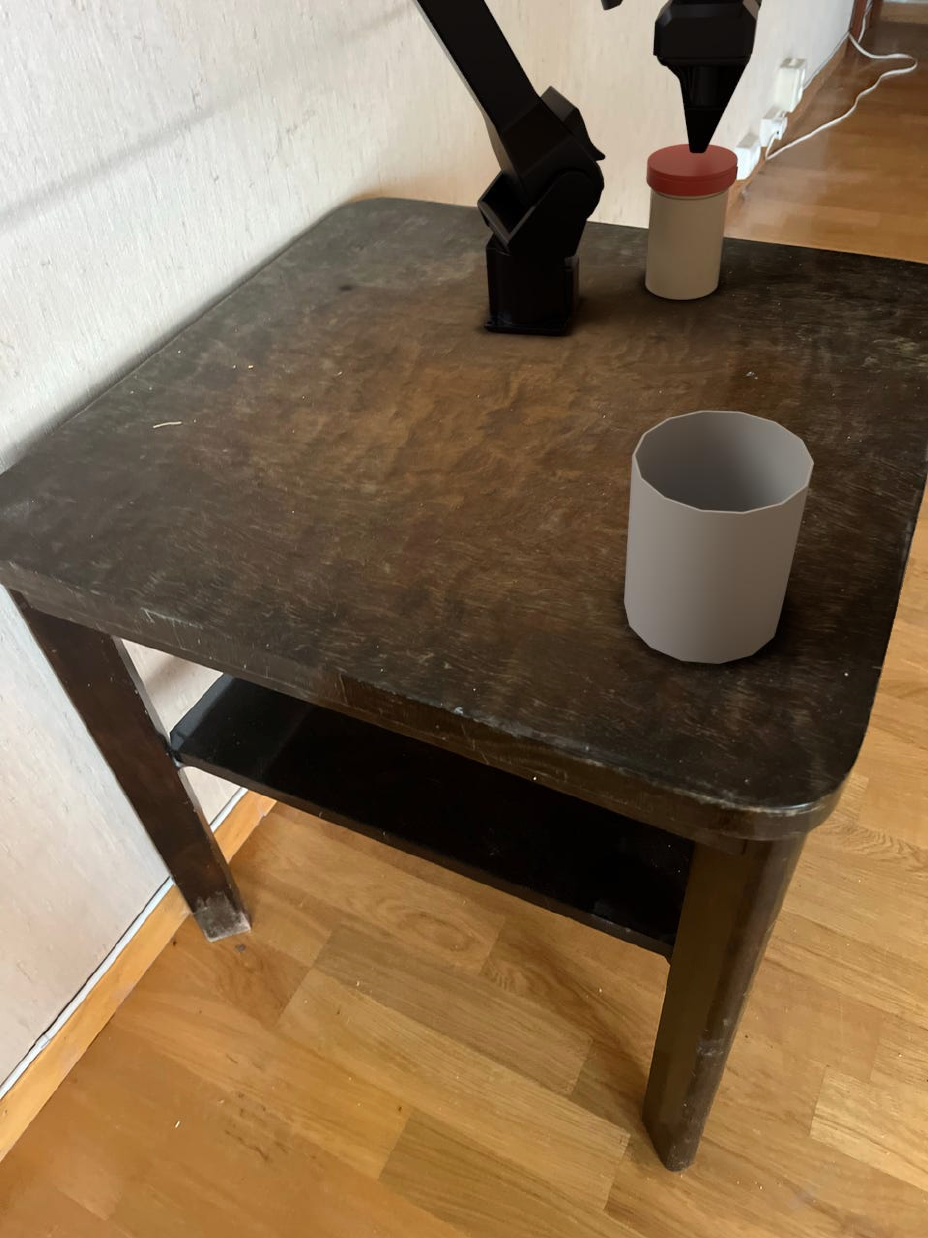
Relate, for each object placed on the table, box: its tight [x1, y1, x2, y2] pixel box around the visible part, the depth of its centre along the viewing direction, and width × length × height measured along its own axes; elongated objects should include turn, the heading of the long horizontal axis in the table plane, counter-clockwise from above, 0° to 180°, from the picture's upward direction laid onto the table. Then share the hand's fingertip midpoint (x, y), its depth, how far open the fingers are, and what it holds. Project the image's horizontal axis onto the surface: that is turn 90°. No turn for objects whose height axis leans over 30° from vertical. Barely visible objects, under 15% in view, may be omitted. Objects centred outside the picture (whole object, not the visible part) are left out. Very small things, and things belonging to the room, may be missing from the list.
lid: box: [645, 143, 739, 196], centre depth 73 cm, size 7×7×2 cm
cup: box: [623, 410, 815, 665], centre depth 49 cm, size 8×8×10 cm
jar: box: [644, 187, 730, 301], centre depth 76 cm, size 6×6×9 cm
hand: (703, 129), depth 71 cm, fingers open, 9 cm apart
